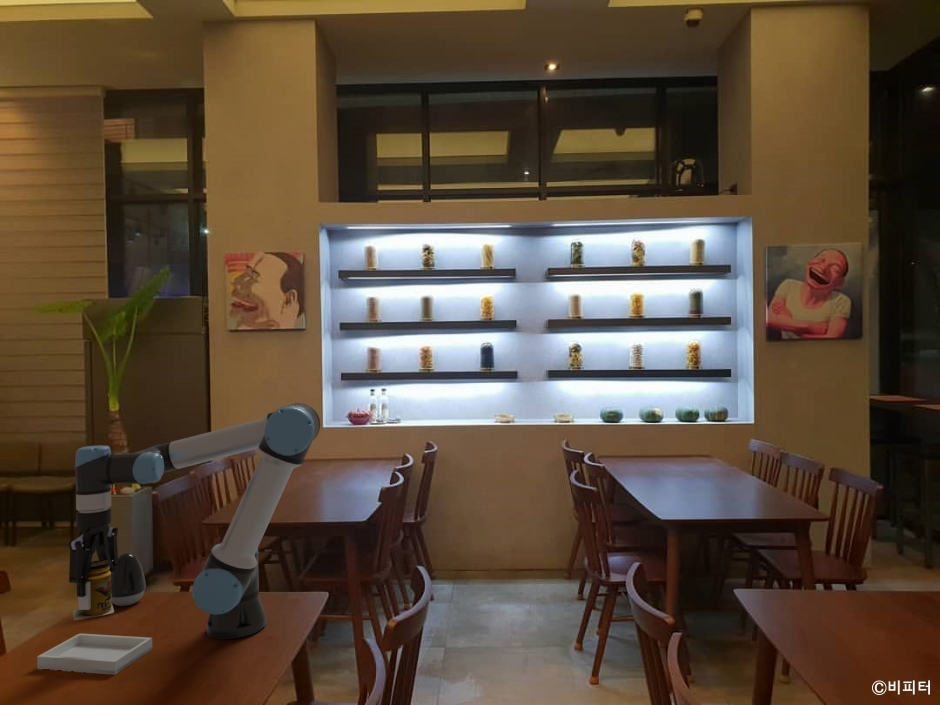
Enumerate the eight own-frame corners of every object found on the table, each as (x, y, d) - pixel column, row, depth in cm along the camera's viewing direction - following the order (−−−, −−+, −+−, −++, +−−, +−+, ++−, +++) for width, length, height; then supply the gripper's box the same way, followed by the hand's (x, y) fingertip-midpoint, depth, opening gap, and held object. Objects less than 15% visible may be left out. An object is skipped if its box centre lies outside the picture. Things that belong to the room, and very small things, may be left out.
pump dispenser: (100, 605, 194) (99, 555, 194) (133, 594, 203) (132, 546, 203) (119, 612, 189) (118, 560, 189) (152, 600, 198) (151, 550, 198)
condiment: (114, 613, 157) (113, 563, 158) (73, 621, 153) (72, 570, 153) (111, 604, 164) (111, 556, 164) (72, 611, 159) (71, 562, 159)
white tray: (152, 649, 163) (152, 637, 163) (115, 674, 150) (115, 661, 150) (79, 645, 167) (79, 633, 167) (37, 669, 154) (37, 656, 154)
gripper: (108, 500, 169) (109, 589, 169) (48, 518, 150) (50, 618, 150) (134, 501, 168) (135, 590, 167) (76, 519, 149) (78, 620, 149)
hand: (95, 603), depth 159 cm, fingers closed on condiment, 6 cm apart
